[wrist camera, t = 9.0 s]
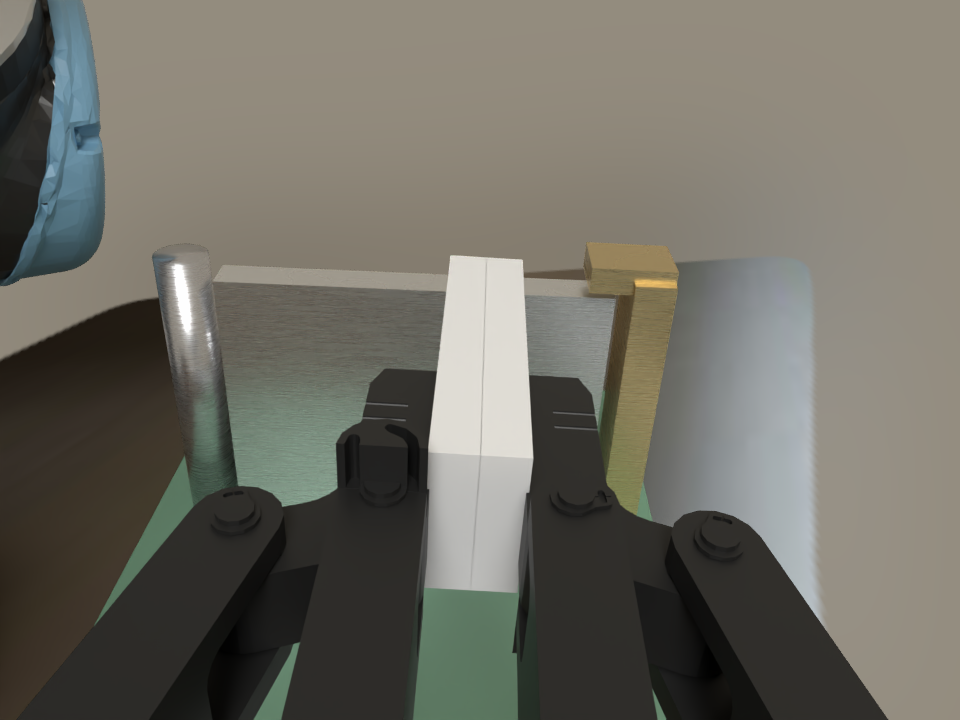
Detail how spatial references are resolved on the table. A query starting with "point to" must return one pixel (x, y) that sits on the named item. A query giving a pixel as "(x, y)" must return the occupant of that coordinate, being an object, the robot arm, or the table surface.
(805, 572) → the table surface
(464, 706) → the motherboard
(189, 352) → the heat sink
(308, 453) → the grey flat slab
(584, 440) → the robot arm
